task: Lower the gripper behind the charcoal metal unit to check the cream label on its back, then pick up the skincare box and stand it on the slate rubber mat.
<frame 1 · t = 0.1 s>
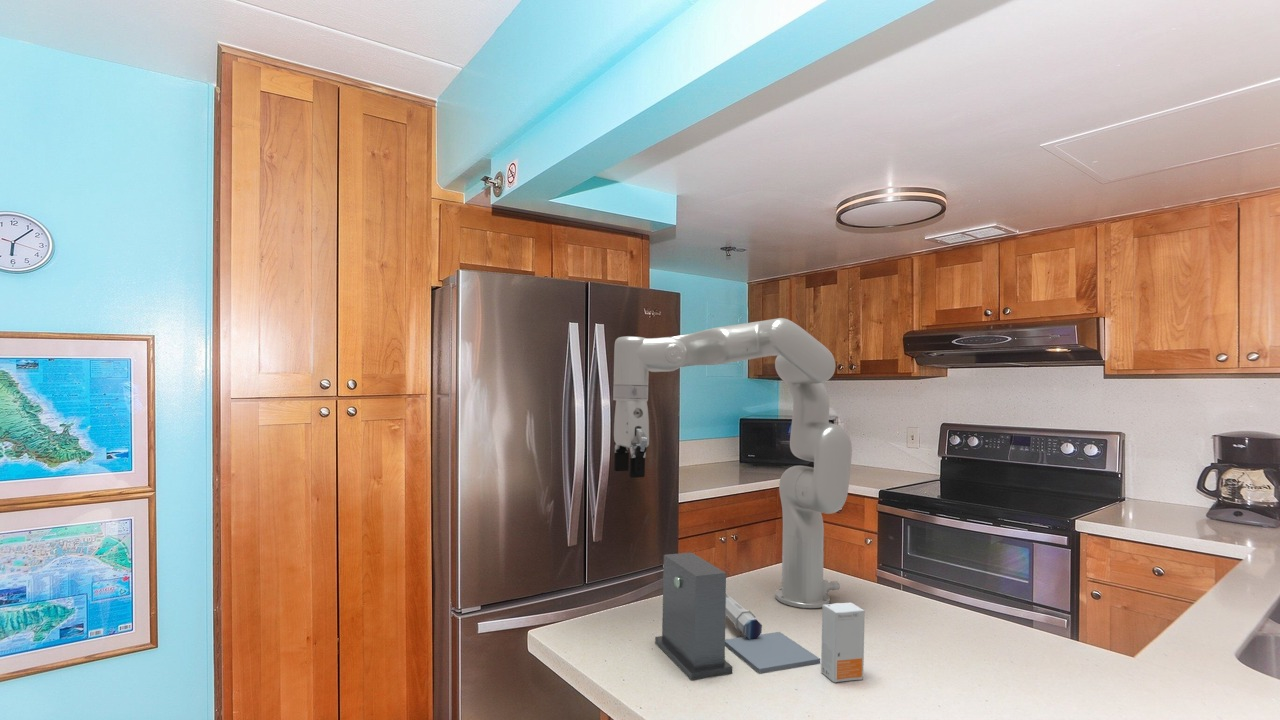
hand: (628, 473, 131), 31 cm above the worktop, tool pointing down, fingers open, 9 cm apart
white elongated piece: (725, 619, 132), on the worktop, touching slate mat
mounted unit: (691, 657, 113), on the worktop
slate mat: (770, 653, 116), on the worktop
skincare box: (842, 677, 107), on the worktop
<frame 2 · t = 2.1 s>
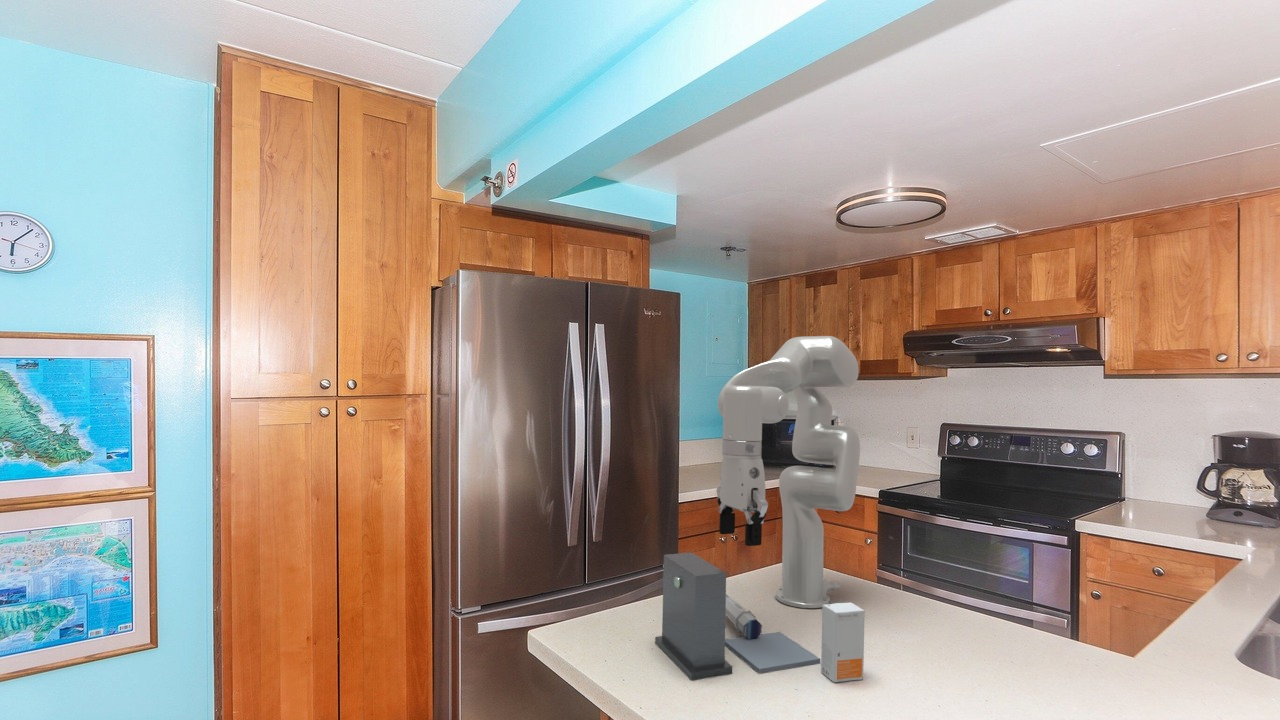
hand: (739, 539, 118), 21 cm above the worktop, tool pointing down, fingers open, 9 cm apart
nothing on the worktop moved.
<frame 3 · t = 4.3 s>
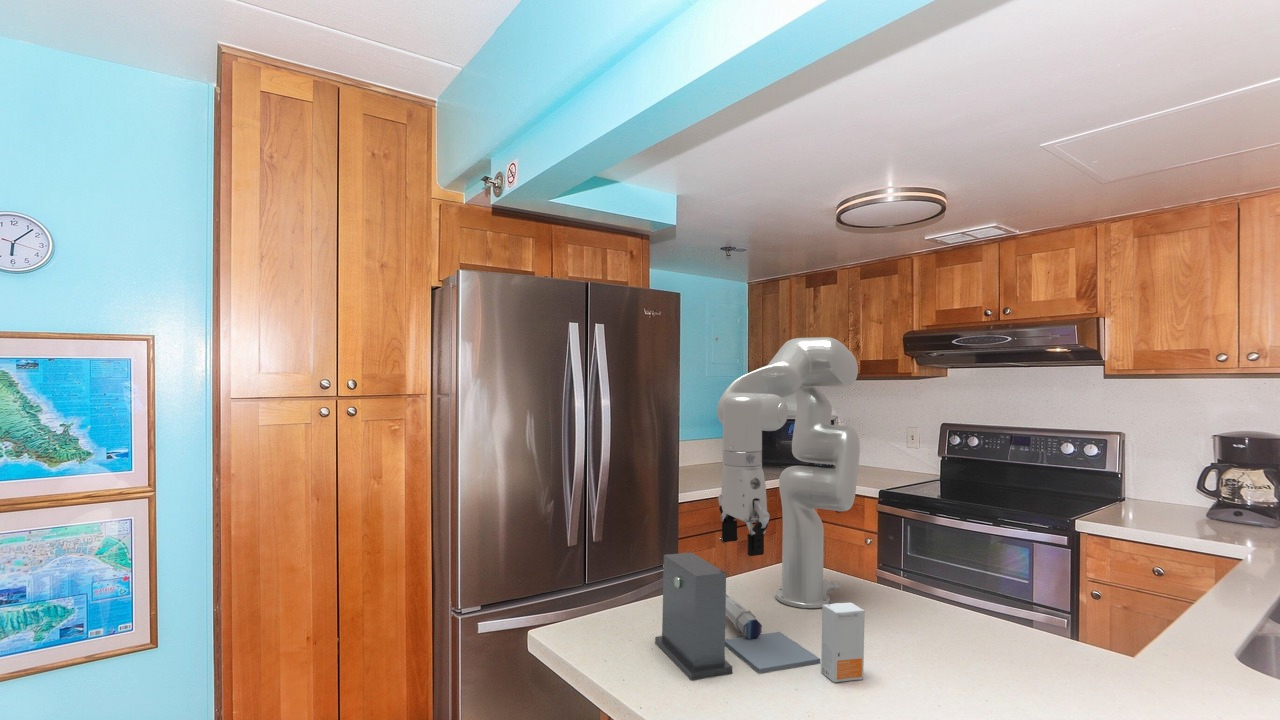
hand: (742, 547, 118), 19 cm above the worktop, tool pointing down, fingers open, 9 cm apart
nothing on the worktop moved.
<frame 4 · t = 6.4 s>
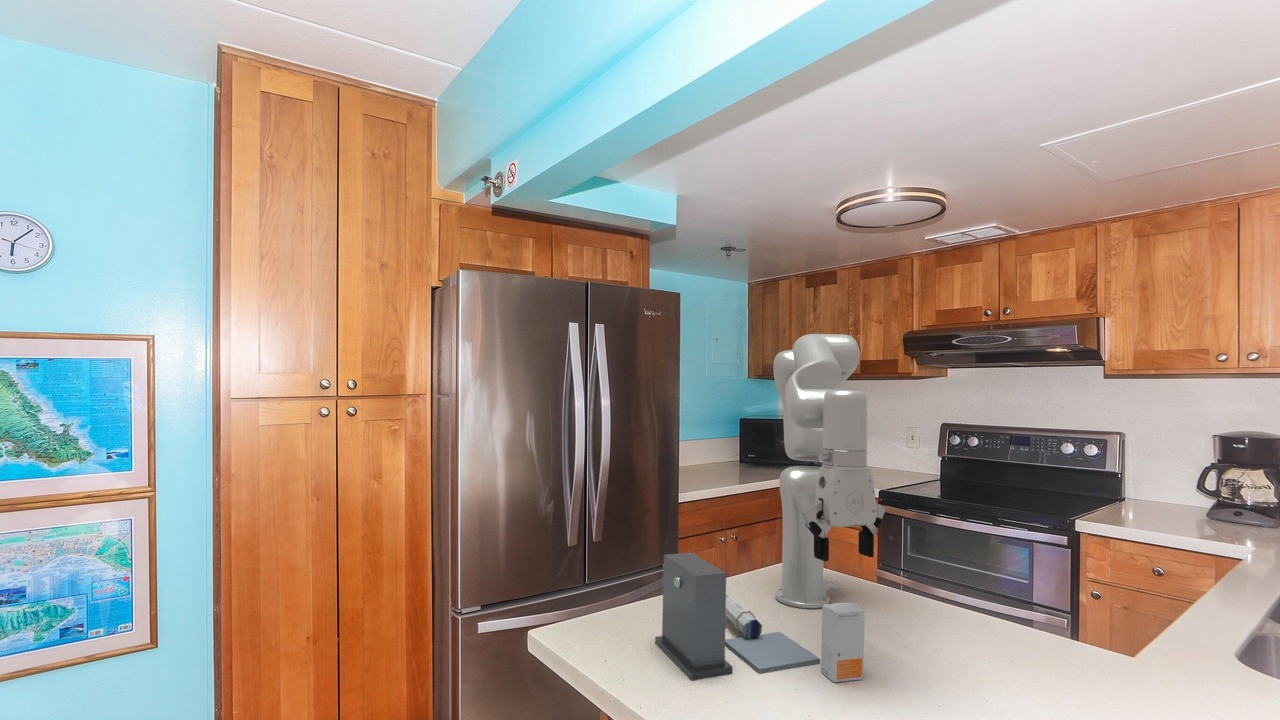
hand: (844, 557, 108), 21 cm above the worktop, tool pointing down, fingers open, 9 cm apart
nothing on the worktop moved.
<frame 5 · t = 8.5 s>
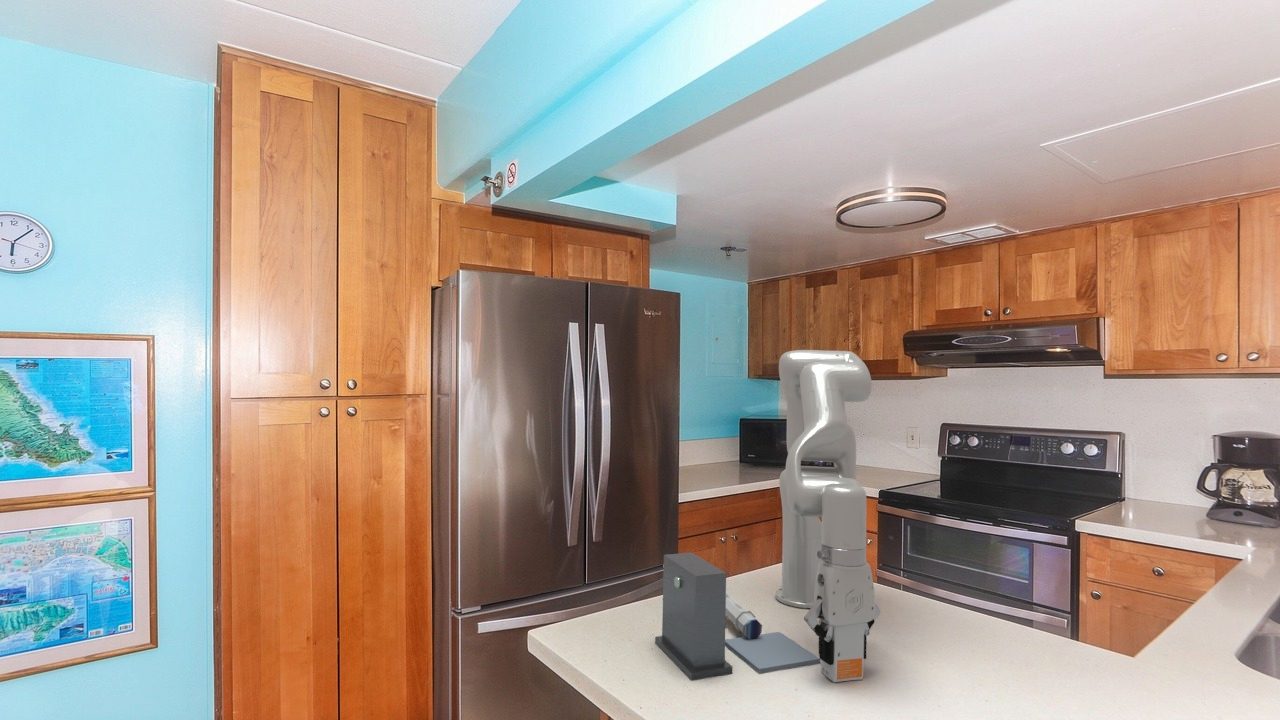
hand: (842, 657, 108), 3 cm above the worktop, tool pointing down, fingers closed on skincare box, 6 cm apart
skincare box: (842, 677, 107), on the worktop, touching gripper
everything else where it was.
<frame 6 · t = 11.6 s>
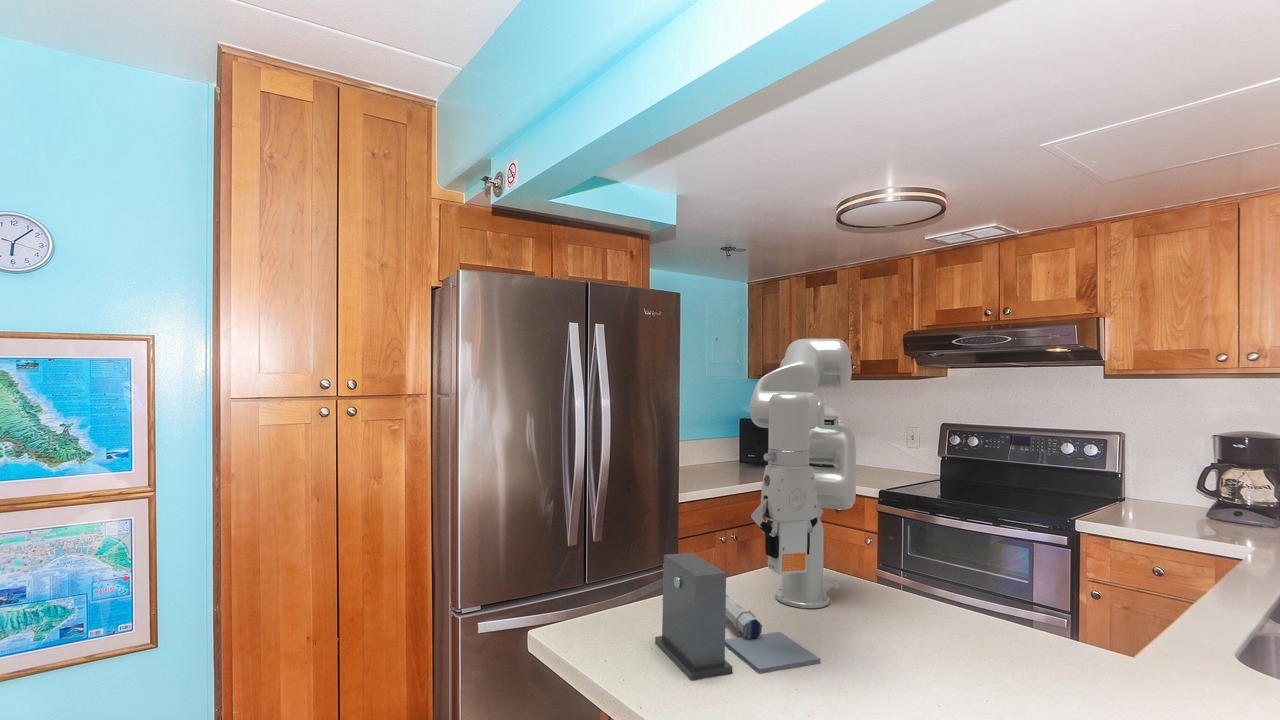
hand: (787, 553, 115), 19 cm above the worktop, tool pointing down, fingers closed on skincare box, 6 cm apart
skincare box: (787, 571, 115), point 16 cm above the worktop, touching gripper
everything else where it was.
when the fingers open (5 cm above the worktop, at t = 15.1 s): skincare box moves 1 cm, resting on slate mat.
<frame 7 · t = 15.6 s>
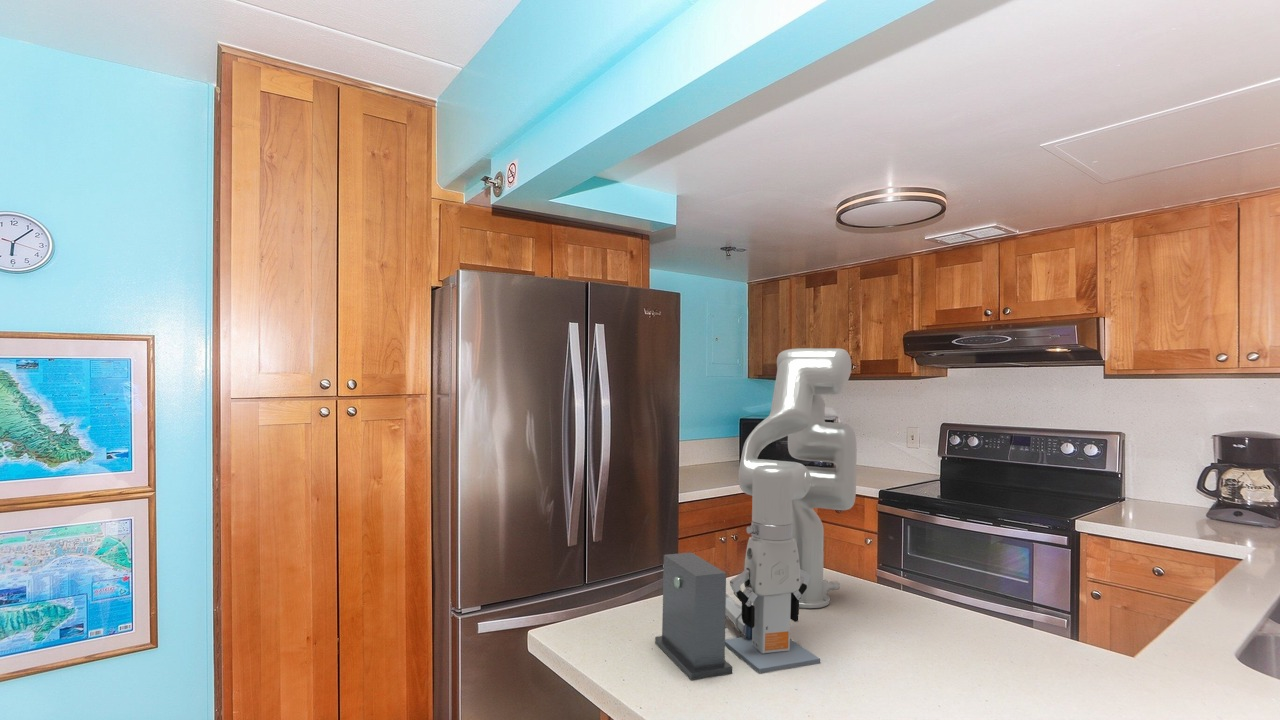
hand: (770, 622, 116), 6 cm above the worktop, tool pointing down, fingers open, 9 cm apart
skincare box: (771, 649, 116), point 1 cm above the worktop, touching slate mat
everything else where it was.
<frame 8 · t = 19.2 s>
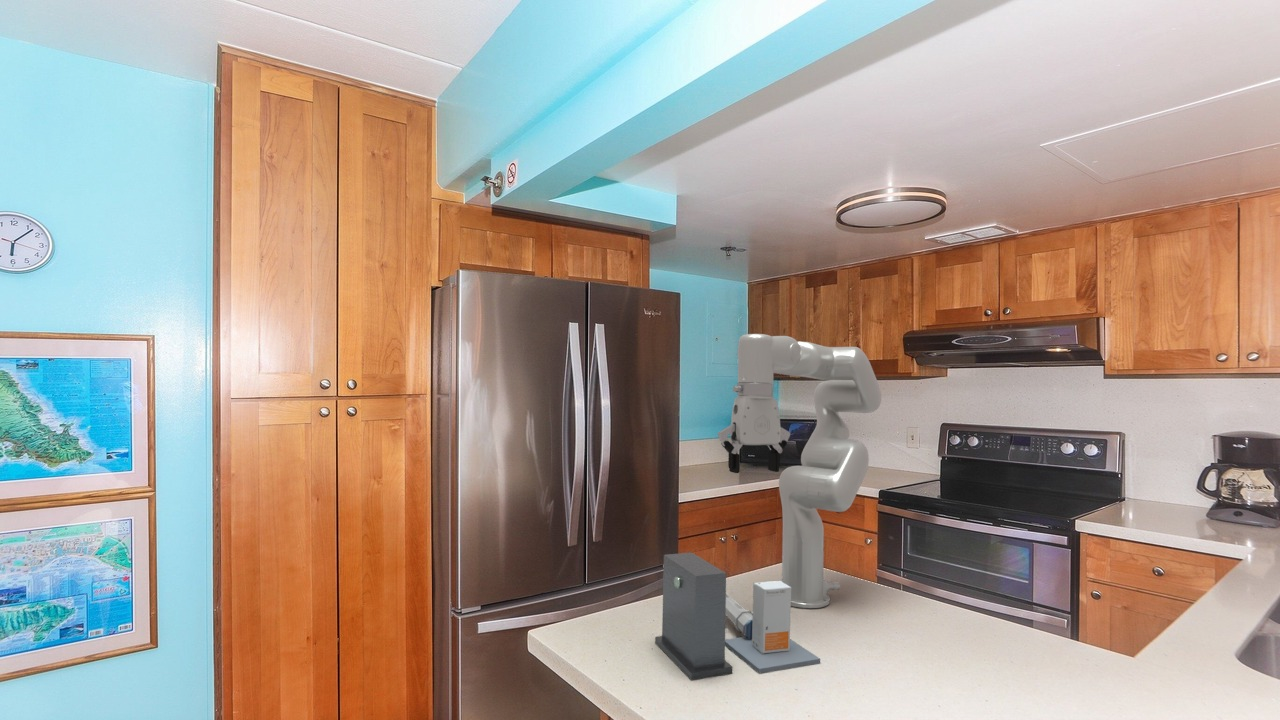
hand: (754, 471, 131), 32 cm above the worktop, tool pointing down, fingers open, 9 cm apart
nothing on the worktop moved.
at the end: skincare box inside the target area on the slate mat (0.3 cm from its centre), point 0.6 cm above the slate mat's base; skincare box tilted 0°; the gripper is holding nothing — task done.
